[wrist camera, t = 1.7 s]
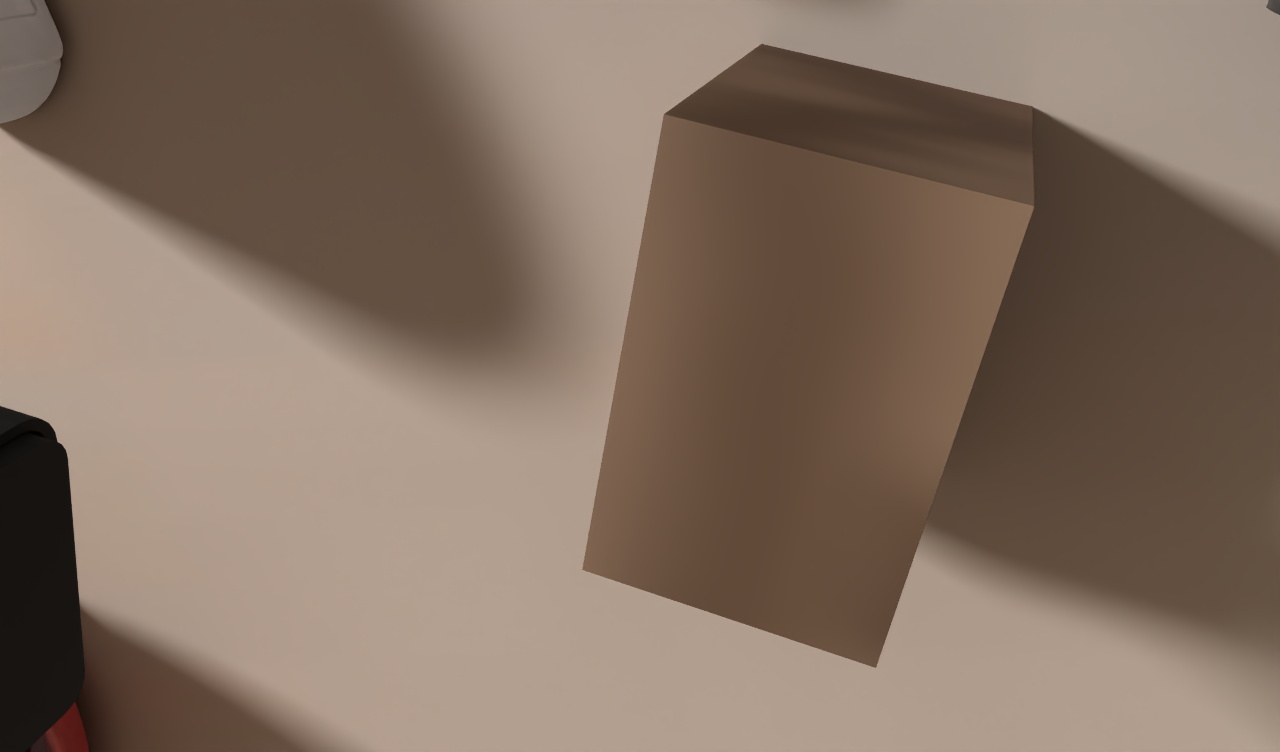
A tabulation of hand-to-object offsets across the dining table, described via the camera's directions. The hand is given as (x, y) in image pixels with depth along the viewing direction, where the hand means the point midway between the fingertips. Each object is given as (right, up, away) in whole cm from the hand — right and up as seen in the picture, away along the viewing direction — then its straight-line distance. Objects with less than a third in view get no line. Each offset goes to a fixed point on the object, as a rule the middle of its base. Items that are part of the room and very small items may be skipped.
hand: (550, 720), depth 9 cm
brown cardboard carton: (+4, +5, +11) cm, 13 cm away
